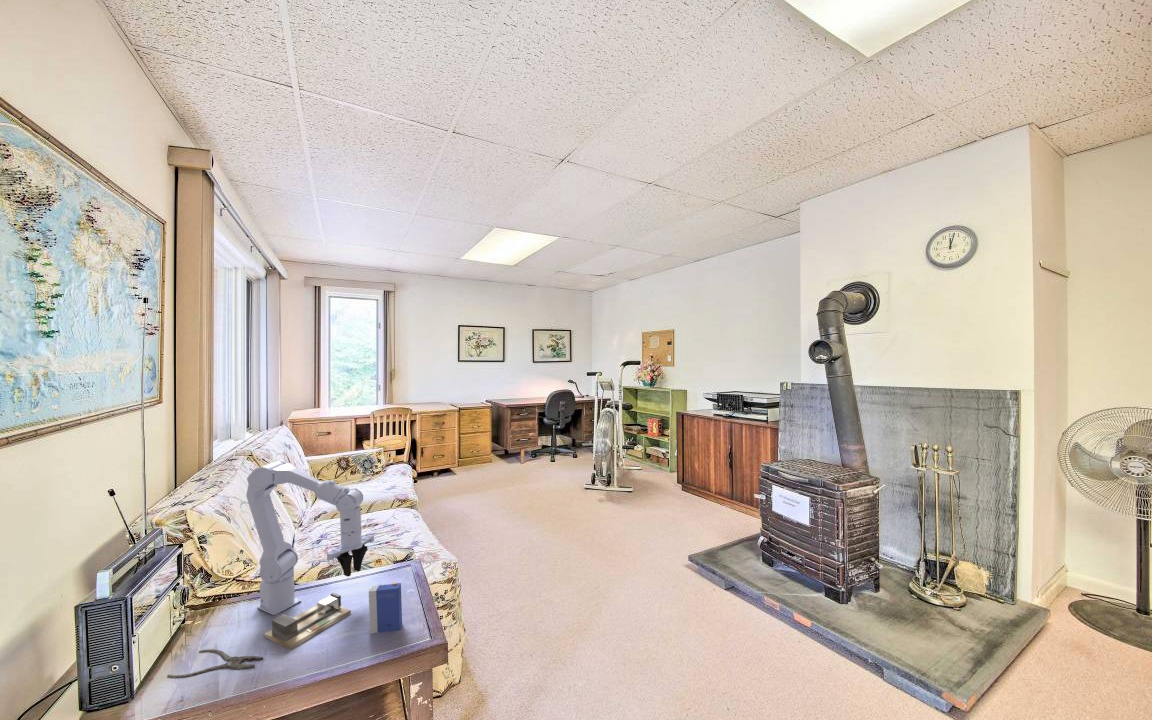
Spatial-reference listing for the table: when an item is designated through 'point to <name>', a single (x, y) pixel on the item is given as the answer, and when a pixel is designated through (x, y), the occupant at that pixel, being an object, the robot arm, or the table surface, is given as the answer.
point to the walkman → (385, 608)
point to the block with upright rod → (329, 603)
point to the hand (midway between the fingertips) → (352, 573)
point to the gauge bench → (303, 626)
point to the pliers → (232, 664)
